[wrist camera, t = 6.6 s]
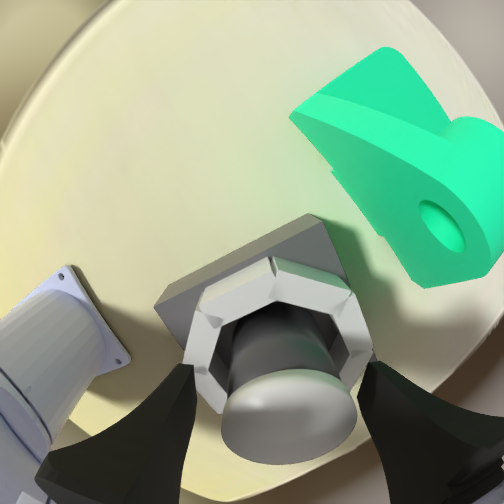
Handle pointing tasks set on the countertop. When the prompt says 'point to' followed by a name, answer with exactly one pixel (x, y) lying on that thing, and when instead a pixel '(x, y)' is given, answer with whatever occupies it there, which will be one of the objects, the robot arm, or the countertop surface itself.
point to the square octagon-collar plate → (266, 303)
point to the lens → (284, 389)
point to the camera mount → (412, 167)
